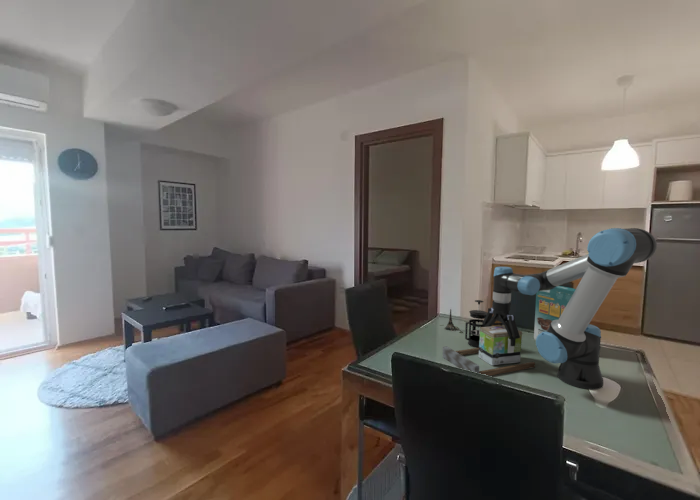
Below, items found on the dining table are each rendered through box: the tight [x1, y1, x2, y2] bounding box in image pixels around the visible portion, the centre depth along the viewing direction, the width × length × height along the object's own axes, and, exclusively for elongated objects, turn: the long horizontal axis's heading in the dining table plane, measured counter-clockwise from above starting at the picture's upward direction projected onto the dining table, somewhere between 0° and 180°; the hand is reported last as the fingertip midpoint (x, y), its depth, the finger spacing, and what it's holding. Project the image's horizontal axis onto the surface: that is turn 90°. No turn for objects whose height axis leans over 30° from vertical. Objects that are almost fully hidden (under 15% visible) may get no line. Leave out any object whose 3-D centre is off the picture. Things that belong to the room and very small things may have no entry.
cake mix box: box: [533, 285, 576, 341], centre depth 172 cm, size 22×6×30 cm, turn 22°
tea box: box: [478, 325, 523, 367], centre depth 155 cm, size 15×10×15 cm
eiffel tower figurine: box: [439, 308, 464, 334], centre depth 198 cm, size 15×10×13 cm
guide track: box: [442, 346, 536, 377], centre depth 153 cm, size 22×32×5 cm
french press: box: [464, 299, 488, 348], centre depth 173 cm, size 12×9×23 cm
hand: (499, 346), depth 155 cm, fingers open, 13 cm apart
